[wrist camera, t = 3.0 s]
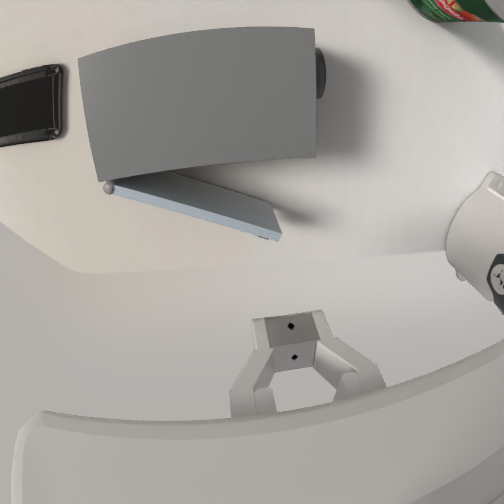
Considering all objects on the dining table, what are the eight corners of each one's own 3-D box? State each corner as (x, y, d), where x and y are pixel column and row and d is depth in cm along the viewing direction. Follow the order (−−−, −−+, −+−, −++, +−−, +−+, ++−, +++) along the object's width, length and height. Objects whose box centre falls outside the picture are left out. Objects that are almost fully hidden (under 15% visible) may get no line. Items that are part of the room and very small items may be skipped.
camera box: (303, 40, 21) (331, 30, 15) (305, 137, 26) (331, 157, 20) (110, 60, 20) (77, 58, 14) (124, 156, 25) (98, 182, 19)
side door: (270, 202, 29) (282, 232, 24) (263, 218, 30) (273, 251, 25) (125, 158, 25) (104, 181, 20) (121, 176, 26) (100, 202, 21)
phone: (59, 139, 22) (-34, 153, 20) (64, 136, 23) (-28, 150, 21) (60, 61, 18) (-37, 90, 15) (65, 61, 19) (-31, 89, 16)
